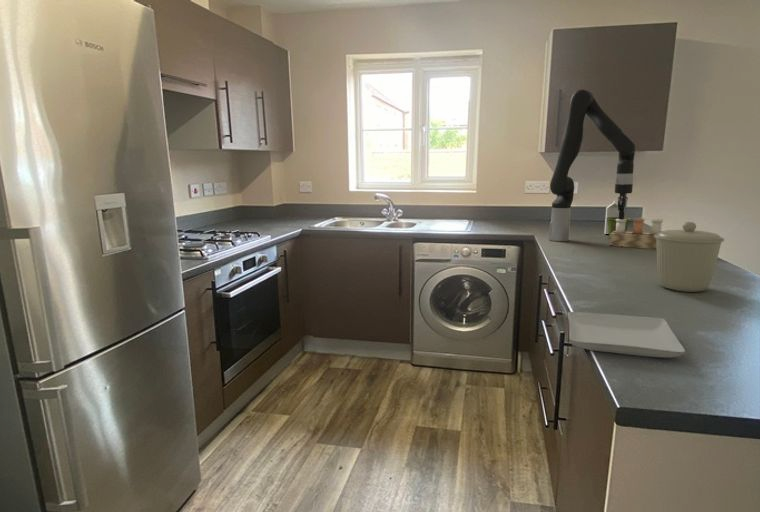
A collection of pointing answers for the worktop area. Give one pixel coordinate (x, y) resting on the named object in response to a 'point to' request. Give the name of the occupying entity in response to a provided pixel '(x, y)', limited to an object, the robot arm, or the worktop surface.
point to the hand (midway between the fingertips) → (621, 219)
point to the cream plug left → (620, 225)
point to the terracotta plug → (638, 226)
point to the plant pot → (612, 224)
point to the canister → (686, 258)
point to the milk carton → (611, 214)
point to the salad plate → (623, 334)
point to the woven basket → (633, 240)
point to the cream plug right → (656, 226)
